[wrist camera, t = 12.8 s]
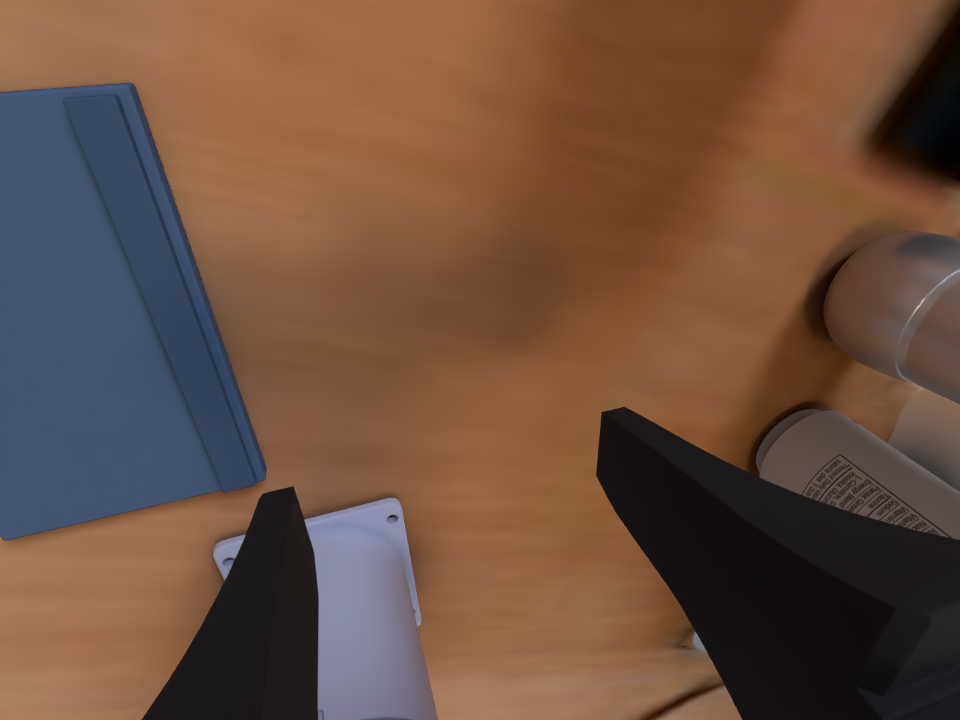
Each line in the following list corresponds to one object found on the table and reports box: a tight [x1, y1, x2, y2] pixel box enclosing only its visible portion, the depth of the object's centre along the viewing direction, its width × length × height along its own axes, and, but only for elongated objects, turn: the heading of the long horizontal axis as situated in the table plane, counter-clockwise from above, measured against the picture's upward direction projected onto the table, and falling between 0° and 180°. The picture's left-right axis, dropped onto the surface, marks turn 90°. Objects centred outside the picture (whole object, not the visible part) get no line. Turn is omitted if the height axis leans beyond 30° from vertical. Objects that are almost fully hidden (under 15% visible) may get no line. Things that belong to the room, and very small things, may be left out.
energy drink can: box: [756, 409, 960, 540], centre depth 26 cm, size 6×6×15 cm
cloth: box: [0, 83, 266, 541], centre depth 17 cm, size 14×9×1 cm, turn 3°
